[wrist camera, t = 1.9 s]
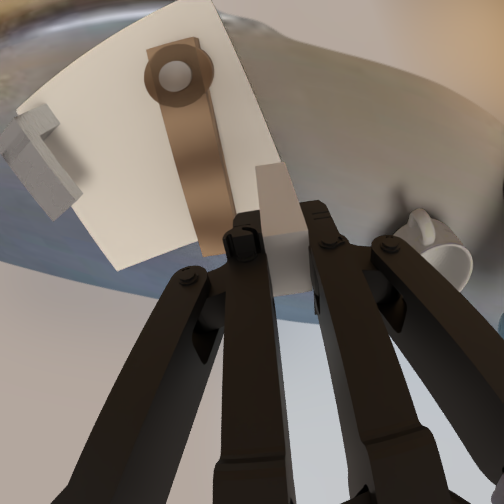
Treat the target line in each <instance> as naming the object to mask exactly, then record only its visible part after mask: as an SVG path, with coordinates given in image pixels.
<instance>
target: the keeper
mask: <svg viewBox="0 0 504 504" xmlns="http://www.w3.org/2000/svg"><path fill="white" fill-rule="evenodd" d="M59 125H60V122H59V121H58V119H57V118H56V117H55V115H54V114H53V112H52V111H51V109H50V108H49V107H48V105H47V104H44V105H41V106H39V107H37V108H34V109H32V110H30V111H27V112H25V113H23V114H21V115H18V116H16V117H14V118H13V120H12V121H11V122H10V123H9V125H8V126H7V127H6V129H5V130H4V131H3V133H2V134H1V136H0V153H1V155H2V156H3V158H4V159H5V160H6V162H7V163H8V165H9V166H10V167H11V169H12V170H13V171H14V173H15V174H16V175H17V177H18V178H19V179H20V181H21V182H22V183H23V185H24V186H25V187H26V189H27V190H28V191H29V192H30V194H31V195H32V196H33V198H34V199H35V200H36V201H37V203H38V204H39V205H40V206H41V208H42V209H43V210H44V211H45V212H46V214H47V215H48V216H49V217H50V218H51V220H52V221H53V222H54V221H55V220H56V219H57V218H58V217H59V216H60V215H61V214H62V213H64V212H65V211H66V210H67V209H68V208H69V207H70V206H71V205H73V204H74V203H75V202H76V201H77V200H78V199H79V198H80V197H81V196H82V194H83V193H82V191H81V190H80V189H79V188H78V186H77V185H76V184H75V183H74V181H73V180H72V179H71V177H70V176H69V175H68V174H67V172H66V171H65V170H64V168H63V167H62V166H61V164H60V163H59V162H58V160H57V159H56V158H55V157H54V155H53V154H52V152H51V151H50V150H49V148H48V147H47V146H46V144H45V143H44V140H45V139H46V138H47V137H48V136H49V135H50V134H51V133H52V132H53V131H54V130H55V129H56V128H57V127H58V126H59Z"/></svg>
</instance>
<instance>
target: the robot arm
mask: <svg viewBox="0 0 504 504" xmlns="http://www.w3.org/2000/svg"><path fill="white" fill-rule="evenodd" d="M255 170H256V180H257V189H258V199H259V209H260V210H254V211H247V212H241V213H238V214H237V215H236V216H235V218H234V219H233V228H232V229H230V230H229V231H227V232H226V233H225V234H224V236H223V238H222V241H223V244H224V248H225V252H226V256H227V263H226V264H224V265H223V266H221V267H219V268H217V269H215V270H212V271H210V272H207V271H206V269H204V268H203V267H201V266H188V267H185V268H182V269H180V270H179V271H177V272H176V273H175V274H174V275H173V276H172V277H171V279H170V281H169V283H168V284H167V286H166V288H165V290H164V291H163V293H162V295H161V297H160V299H159V300H158V302H157V304H156V306H155V308H154V309H153V311H152V313H151V315H150V317H149V319H148V320H147V322H146V324H145V326H144V328H143V330H142V332H141V333H140V335H139V337H138V339H137V341H136V343H135V345H134V347H133V348H132V350H131V352H130V354H129V356H128V358H127V360H126V362H125V364H124V366H123V368H122V370H121V372H120V374H119V376H118V378H117V380H116V382H115V384H114V386H113V388H112V390H111V392H110V394H109V396H108V398H107V400H106V402H105V404H104V406H103V408H102V410H101V412H100V414H99V416H98V418H97V421H96V423H95V425H94V427H93V429H92V432H91V433H90V436H89V438H88V440H87V442H86V444H85V447H84V449H83V451H82V453H81V455H80V458H79V460H78V462H77V464H76V467H75V469H74V471H73V474H72V476H71V479H70V481H69V483H68V485H67V486H66V488H65V489H64V490H63V491H62V492H61V493H60V494H59V495H58V496H57V497H56V498H55V500H53V501H52V503H51V504H166V501H167V498H168V495H169V493H170V489H171V487H172V484H173V480H174V478H175V475H176V472H177V469H178V466H179V463H180V460H181V457H182V454H183V451H184V449H185V445H186V443H187V440H188V437H189V434H190V431H191V428H192V425H193V422H194V419H195V416H196V413H197V410H198V407H199V404H200V401H201V399H202V395H203V393H204V389H205V386H206V383H207V381H208V378H209V375H210V372H211V369H212V366H213V363H214V360H215V357H216V355H217V351H218V349H219V346H220V343H221V340H222V337H223V334H224V349H223V381H222V421H221V422H222V423H221V426H222V427H221V456H220V459H219V461H218V462H217V463H216V465H215V468H214V475H213V504H296V496H295V487H294V480H293V470H292V461H291V450H290V440H289V431H288V420H287V410H286V400H285V391H284V382H283V372H282V363H281V355H280V345H279V337H278V328H277V319H276V310H275V303H274V298H273V297H276V296H283V295H289V294H296V293H302V292H308V291H312V286H313V290H314V308H315V315H316V314H317V315H318V319H319V324H320V328H321V332H322V337H323V341H324V346H325V351H326V355H327V360H328V365H329V369H330V374H331V379H332V384H333V389H334V394H335V399H336V404H337V409H338V415H339V420H340V425H341V431H342V436H343V442H344V448H345V453H346V459H347V465H348V486H349V494H350V500H348V501H346V502H343V503H341V504H471V503H469V502H467V501H466V500H464V499H463V498H461V497H460V496H458V495H457V494H455V493H453V492H452V491H450V490H448V486H447V481H446V477H445V474H444V470H443V466H442V463H441V459H440V455H439V451H438V448H437V445H436V442H435V439H434V437H433V434H432V433H431V431H430V430H429V429H428V428H427V427H425V426H422V425H421V423H420V422H419V420H418V417H417V414H416V411H415V408H414V405H413V401H412V399H411V395H410V392H409V389H408V387H407V383H406V381H405V378H404V375H403V372H402V369H401V366H400V364H399V361H398V358H397V355H396V353H395V350H394V347H393V345H392V342H391V339H390V337H391V338H392V340H393V341H394V342H395V344H396V345H397V346H398V348H399V349H400V351H401V352H402V353H403V355H404V356H405V358H406V359H407V360H408V362H409V363H410V365H411V366H412V367H413V369H414V370H415V372H416V373H417V375H418V376H419V378H420V379H421V380H422V382H423V383H424V385H425V386H426V388H427V389H428V391H429V392H430V394H431V395H432V397H433V398H434V399H435V401H436V402H437V404H438V406H439V407H440V409H441V410H442V412H443V413H444V415H445V416H446V418H447V419H448V421H449V422H450V424H451V425H452V427H453V428H454V430H455V432H456V433H457V435H458V436H459V438H460V440H461V441H462V443H463V444H464V446H465V447H466V449H467V451H468V452H469V454H470V455H471V457H472V459H473V460H474V462H475V463H476V465H477V466H478V467H479V469H480V470H481V471H482V472H483V474H485V476H486V477H487V478H488V479H489V480H490V481H491V482H492V483H494V484H495V485H496V488H495V491H494V492H493V494H492V496H491V502H492V504H504V313H503V315H502V316H501V318H500V321H499V325H498V332H499V334H498V333H497V331H496V330H495V329H494V328H493V327H492V326H491V325H490V324H489V323H488V322H487V320H486V319H485V318H484V317H483V316H482V315H481V314H480V313H479V312H478V311H477V310H476V309H475V308H474V307H473V306H472V304H471V303H470V302H469V301H468V300H467V299H466V298H465V297H464V296H463V295H462V294H461V293H460V292H459V291H458V290H457V289H456V288H455V287H454V286H453V285H452V284H451V283H450V282H449V281H448V280H447V279H446V278H445V277H444V276H443V275H442V274H441V273H439V272H438V271H437V270H436V269H435V268H434V267H433V266H432V265H431V264H430V263H429V262H428V261H427V260H426V259H425V258H424V257H422V256H421V255H420V254H419V253H418V252H417V251H416V250H415V249H414V248H413V247H412V246H410V245H409V244H408V243H407V242H406V241H405V240H403V239H402V238H400V237H397V236H394V235H383V236H379V237H377V238H375V239H374V240H373V242H372V245H371V247H369V246H357V245H353V244H350V243H349V241H348V240H347V238H346V237H345V236H343V235H341V234H339V232H338V230H337V227H336V225H335V223H334V221H333V219H332V217H331V215H330V213H329V210H328V208H327V206H326V205H325V204H324V203H322V202H321V201H319V200H314V201H307V202H300V203H299V201H298V198H297V195H296V193H295V190H294V187H293V184H292V181H291V178H290V175H289V173H288V170H287V167H286V164H285V162H280V163H273V164H266V165H260V166H255ZM389 335H390V337H389Z"/></svg>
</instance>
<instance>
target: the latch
mask: <svg viewBox="0 0 504 504" xmlns="http://www.w3.org/2000/svg"><path fill="white" fill-rule="evenodd" d="M146 52H147V56H148V63H147V65H146V68H145V71H144V83H145V87H146V90H147V92H148V93H149V95H150V96H151V97H152V98H153V99H154V100H155V101H156V102H158V103H159V105H160V109H161V113H162V117H163V121H164V125H165V128H166V132H167V136H168V139H169V143H170V147H171V150H172V154H173V158H174V161H175V165H176V168H177V172H178V175H179V179H180V182H181V186H182V189H183V193H184V196H185V199H186V203H187V206H188V209H189V213H190V216H191V219H192V223H193V226H194V229H195V232H196V236H197V239H198V242H199V245H200V248H201V252H202V255H203V257H206V256H213V255H219V254H226V252H225V248H224V244H223V241H222V238H223V236H224V234H225V233H226V232H227V231H229V230H230V229H232V228H233V219H234V218H235V216H236V215H237V213H236V209H235V204H234V200H233V195H232V191H231V186H230V181H229V177H228V172H227V168H226V163H225V159H224V154H223V150H222V145H221V140H220V136H219V131H218V127H217V122H216V117H215V113H214V108H213V103H212V99H211V94H210V90H209V88H210V86H211V84H212V82H213V78H214V65H213V62H212V60H211V58H210V57H209V55H208V54H207V53H206V52H205V51H204V50H202V49H201V47H200V43H199V38H196V37H189V38H185V39H182V40H178V41H174V42H170V43H167V44H163V45H160V46H156V47H153V48H150V49H147V50H146Z"/></svg>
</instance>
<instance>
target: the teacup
mask: <svg viewBox="0 0 504 504" xmlns="http://www.w3.org/2000/svg"><path fill="white" fill-rule="evenodd" d="M394 236H397V237H400V238H402V239H403V240H405V241H406V242H407V243H408V244H409V245H410V246H412V247H413V248H414V249H415V250H416V251H417V252H418V253H419V254H420V255H421V256H422V257H424V258H425V259H426V260H427V261H428V262H429V263H430V264H431V265H432V266H433V267H434V268H435V269H436V270H437V271H438V272H439V273H441V274H442V275H443V276H444V277H445V278H446V279H447V280H448V281H449V282H450V283H451V284H452V285H453V286H454V287H455V288H456V289H457V290H458V291H459V292H461V290H462V289H463V288H464V286H465V285H466V284H467V282H468V280H469V278H470V276H471V273H472V269H473V260H472V255H471V253H470V252H469V250H468V249H467V248H466V247H464V245H463V244H462V243H461V241H460V240H459V238H458V237H457V236H456V235H455V234H454V232H453V231H452V230H451V229H450V228H449V227H448V226H447V225H445V224H444V223H443V222H441V221H439V220H436V219H431V218H430V216H429V215H428V213H427V212H426V211H425V210H424V209H416V210H414V211H412V212H411V213H410V215H409V220H408V223H407V224H405V225H404V226H402V227H401V228H400V229H399V230H398V231H396V233H395V234H394Z"/></svg>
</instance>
